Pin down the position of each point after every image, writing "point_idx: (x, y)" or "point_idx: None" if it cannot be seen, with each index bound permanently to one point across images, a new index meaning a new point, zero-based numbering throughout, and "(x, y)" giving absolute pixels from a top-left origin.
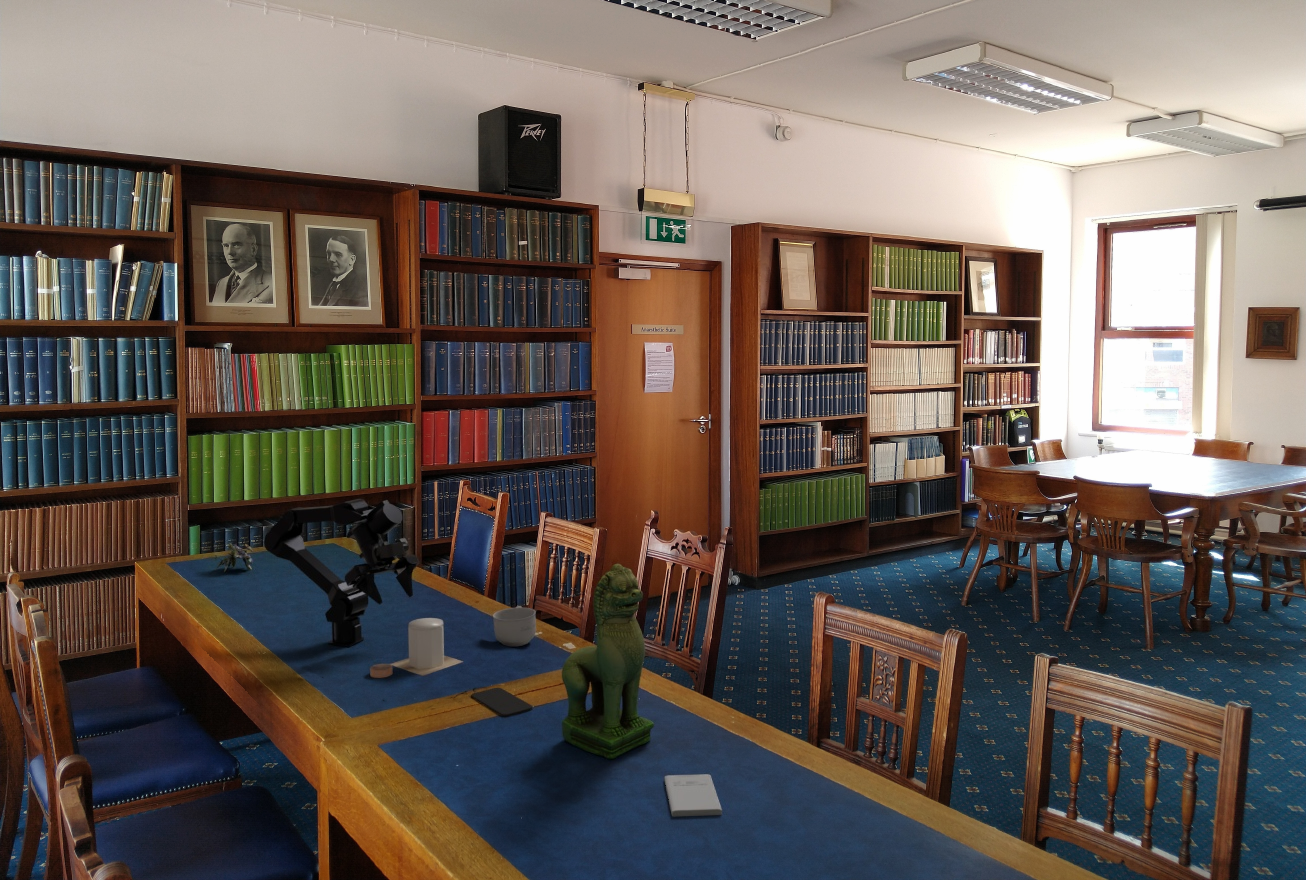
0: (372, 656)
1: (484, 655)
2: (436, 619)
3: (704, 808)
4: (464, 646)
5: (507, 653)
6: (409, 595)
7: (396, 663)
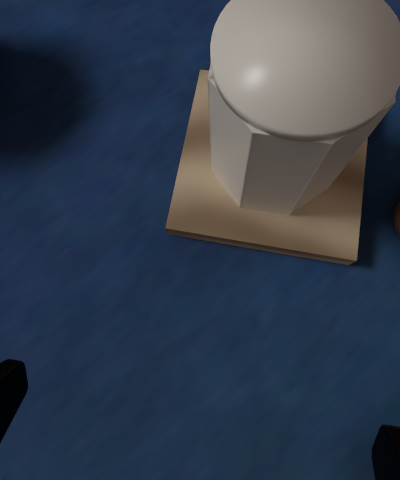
0: (269, 441)
1: (78, 99)
2: (225, 42)
3: None
4: (25, 206)
5: (35, 56)
6: (19, 392)
7: (335, 243)
